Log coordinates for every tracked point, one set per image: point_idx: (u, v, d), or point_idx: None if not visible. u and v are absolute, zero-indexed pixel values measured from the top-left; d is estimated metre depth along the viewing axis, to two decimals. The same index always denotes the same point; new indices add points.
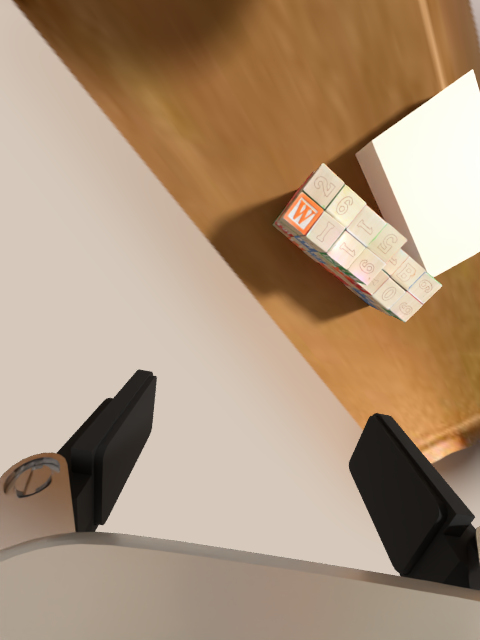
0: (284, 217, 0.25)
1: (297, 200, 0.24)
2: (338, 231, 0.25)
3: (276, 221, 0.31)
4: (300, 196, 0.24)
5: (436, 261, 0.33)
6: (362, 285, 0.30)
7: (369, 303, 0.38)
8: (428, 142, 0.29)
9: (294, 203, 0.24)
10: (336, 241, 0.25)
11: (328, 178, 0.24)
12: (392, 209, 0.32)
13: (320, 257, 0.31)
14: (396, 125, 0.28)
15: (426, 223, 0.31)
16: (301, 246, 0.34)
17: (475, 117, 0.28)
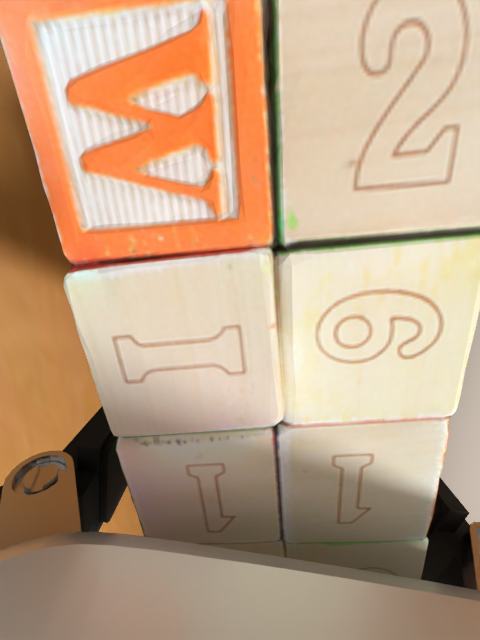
0: None
1: None
2: (238, 412, 0.04)
3: None
4: None
5: None
6: None
7: None
8: None
9: None
10: (200, 435, 0.04)
11: (478, 77, 0.03)
12: None
13: None
14: None
15: None
16: None
17: None
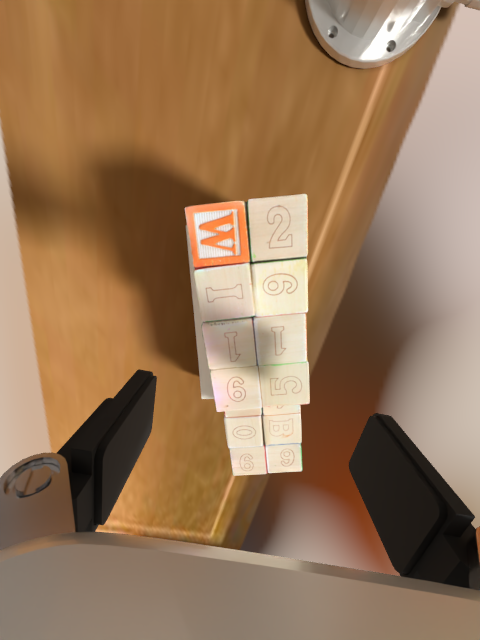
0: (187, 210, 0.12)
1: (226, 206, 0.12)
2: (241, 311, 0.13)
3: None
4: (236, 205, 0.12)
5: None
6: None
7: None
8: None
9: (219, 206, 0.12)
10: (229, 321, 0.14)
11: (294, 224, 0.12)
12: None
13: None
14: None
15: None
16: None
17: None
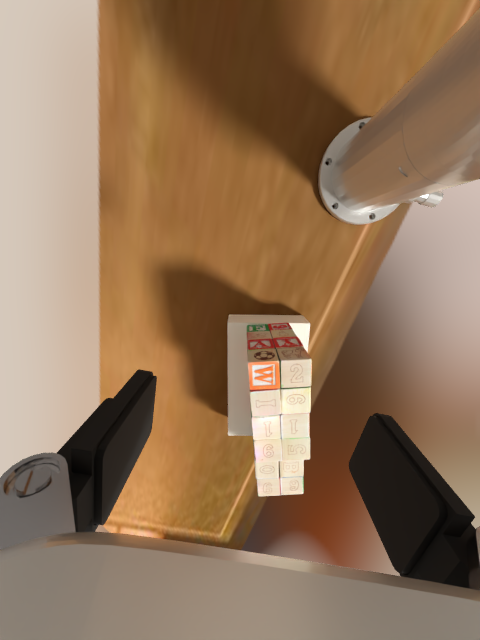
0: (249, 364, 0.23)
1: (269, 363, 0.23)
2: (274, 412, 0.24)
3: (247, 339, 0.29)
4: (274, 363, 0.23)
5: (237, 426, 0.39)
6: None
7: None
8: None
9: (265, 362, 0.23)
10: (267, 416, 0.24)
11: (304, 372, 0.23)
12: None
13: None
14: (248, 324, 0.34)
15: (241, 397, 0.38)
16: None
17: None
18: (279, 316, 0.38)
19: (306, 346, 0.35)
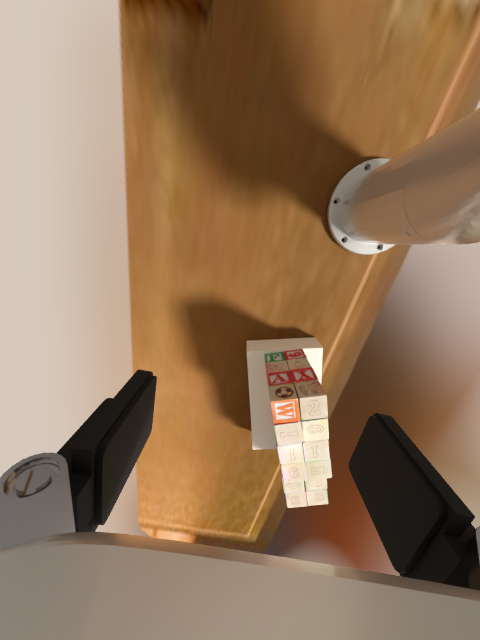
0: (271, 402, 0.26)
1: (289, 400, 0.26)
2: (296, 440, 0.28)
3: (267, 372, 0.32)
4: (294, 400, 0.26)
5: (261, 441, 0.43)
6: None
7: None
8: None
9: (286, 400, 0.26)
10: (290, 444, 0.28)
11: (320, 406, 0.26)
12: None
13: None
14: (265, 351, 0.38)
15: (262, 416, 0.41)
16: None
17: None
18: (293, 340, 0.41)
19: (320, 368, 0.38)
